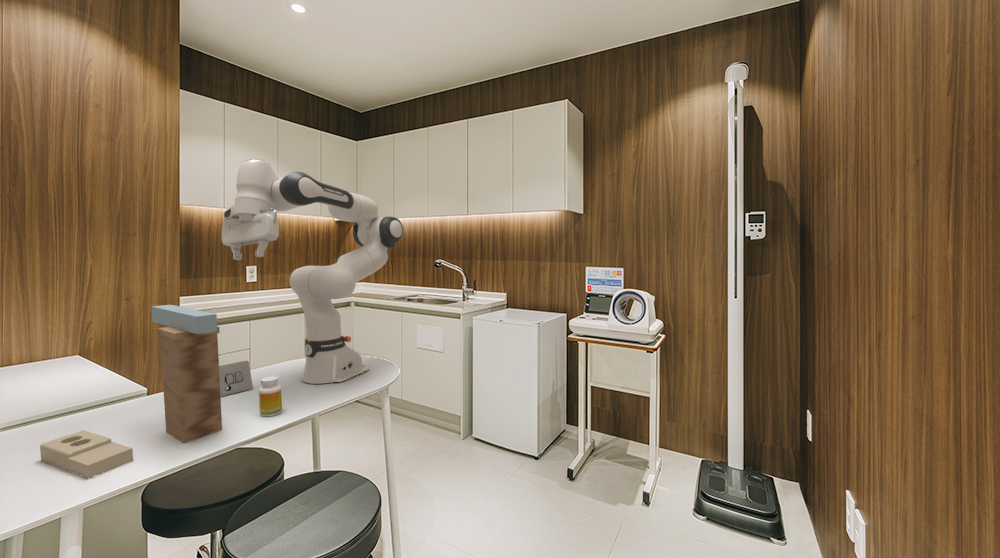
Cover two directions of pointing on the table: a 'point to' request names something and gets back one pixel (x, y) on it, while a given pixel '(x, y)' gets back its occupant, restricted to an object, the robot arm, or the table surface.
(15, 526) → the table surface
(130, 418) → the table surface
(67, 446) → the electrical outlet
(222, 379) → the electrical switch
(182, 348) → the tall wooden block
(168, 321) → the batten
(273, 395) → the supplement bottle
